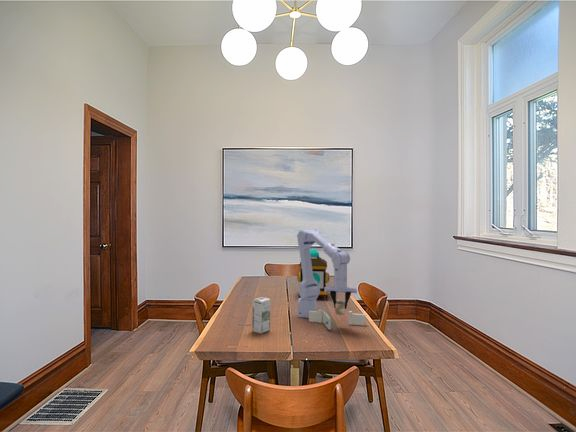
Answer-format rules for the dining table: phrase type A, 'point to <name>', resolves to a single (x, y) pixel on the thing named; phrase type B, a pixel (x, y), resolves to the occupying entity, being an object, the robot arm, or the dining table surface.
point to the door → (326, 320)
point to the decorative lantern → (317, 272)
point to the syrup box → (261, 315)
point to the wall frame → (353, 318)
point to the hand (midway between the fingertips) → (340, 308)
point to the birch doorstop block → (340, 307)
